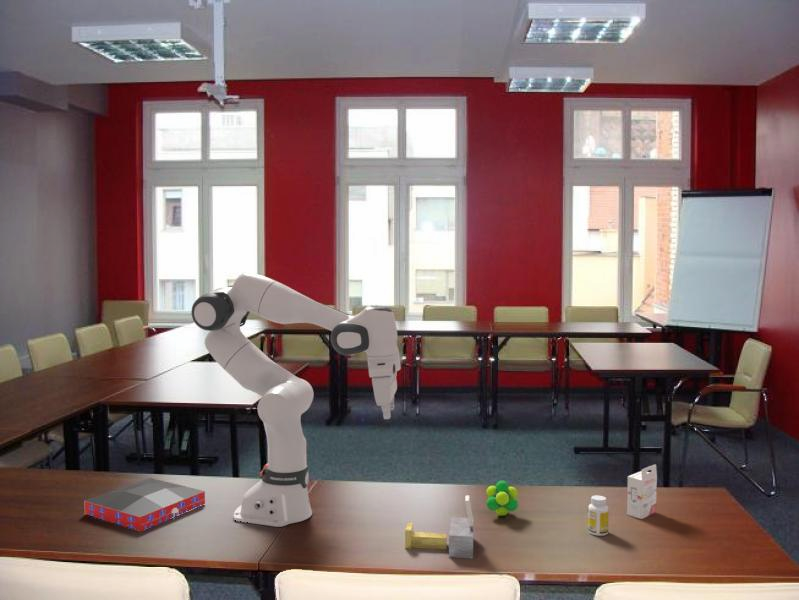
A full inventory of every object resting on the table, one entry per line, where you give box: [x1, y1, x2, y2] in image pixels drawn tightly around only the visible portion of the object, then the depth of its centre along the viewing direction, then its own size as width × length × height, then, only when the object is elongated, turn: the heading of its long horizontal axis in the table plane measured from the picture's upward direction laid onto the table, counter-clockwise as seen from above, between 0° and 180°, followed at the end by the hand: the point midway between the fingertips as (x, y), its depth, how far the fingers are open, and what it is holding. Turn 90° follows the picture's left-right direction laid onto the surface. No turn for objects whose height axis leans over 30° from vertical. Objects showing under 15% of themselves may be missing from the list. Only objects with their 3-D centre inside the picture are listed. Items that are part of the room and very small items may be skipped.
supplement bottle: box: [587, 494, 610, 537], centre depth 195 cm, size 5×5×10 cm
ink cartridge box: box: [626, 464, 658, 520], centre depth 209 cm, size 9×5×15 cm, turn 131°
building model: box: [83, 477, 206, 532], centre depth 210 cm, size 24×25×7 cm
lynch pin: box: [404, 522, 448, 550], centre depth 186 cm, size 10×5×5 cm, turn 83°
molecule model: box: [485, 480, 519, 517], centre depth 207 cm, size 8×8×8 cm
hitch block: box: [448, 516, 475, 560], centre depth 185 cm, size 6×12×6 cm, turn 173°
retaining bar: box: [464, 494, 475, 529], centre depth 184 cm, size 1×4×8 cm, turn 173°
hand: (389, 414), depth 195 cm, fingers open, 8 cm apart
